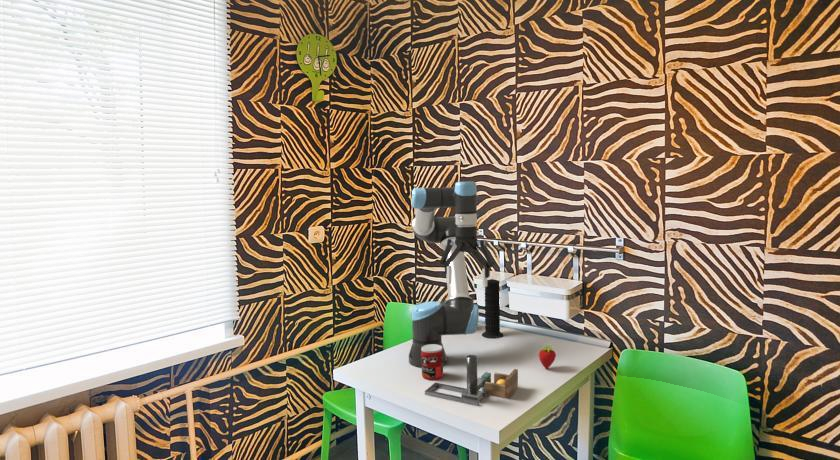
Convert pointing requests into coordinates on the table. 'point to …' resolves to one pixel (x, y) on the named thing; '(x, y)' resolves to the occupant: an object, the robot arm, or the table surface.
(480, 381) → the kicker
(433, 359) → the canned food
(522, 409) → the table surface
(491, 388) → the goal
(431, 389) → the rail
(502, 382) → the ball
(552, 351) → the strawberry
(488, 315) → the handle grip
